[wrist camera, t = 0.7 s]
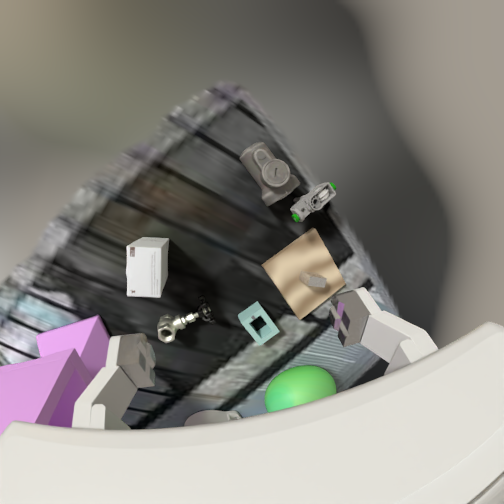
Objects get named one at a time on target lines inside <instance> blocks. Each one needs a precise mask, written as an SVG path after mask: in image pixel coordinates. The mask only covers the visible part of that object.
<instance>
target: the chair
mask: <svg viewBox="0 0 504 504" xmlns="http://www.w3.org/2000/svg"><path fill="white" fill-rule="evenodd" d="M36 339H37V344H38V348H39V352H40V356H41V358H38V359H35V360H31V361H27V362H23V363H16V364H9V365H5V366H1V367H0V435H1V434H2V433H3V431H4V430H5V429H6V427H7V426H8V425H9V424H10V423H11V422H12V421H15V420H17V421H24V422H29V423H36V424H42V425H50V426H59V427H69V428H72V421H73V413H74V405H75V402H76V401H77V400H78V398H79V397H80V396H81V394H82V393H83V392H84V390H85V389H86V388H87V387H88V385H89V384H90V383H91V381H92V380H93V379H94V378H95V376H96V375H97V374H98V373H99V371H100V370H101V369H102V368H103V367H106V360H107V353H108V347H109V341H110V336H109V334H108V332H107V330H106V328H105V325H104V323H103V321H102V319H101V317H100V315H96V316H93V317H90V318H87V319H84V320H81V321H78V322H75V323H71V324H68V325H65V326H62V327H59V328H56V329H53V330H49V331H46V332H43V333H40V334H38V335H37V336H36Z"/></svg>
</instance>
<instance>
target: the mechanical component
mask: <svg viewBox="0 0 504 504" xmlns="http://www.w3.org/2000/svg"><path fill="white" fill-rule="evenodd" d="M335 189H336V187H335V185H334V184H333V183H322V184H320V185H318V186H316V187H315V188H314V189H313V190H311V191H310V192H309V193H308V194H307V195H303V196H301V198H294V200H293V202H295V205H294V206H292V207H291V209H290V210H291V212H292V213H293V215H292V218H293V219H294V220H295V221H296V222H298V221H300V222H302V221H303V220H304V218H305V217H306V216H307V215H309V214H310V213H311V212H314V211H315V210H319V209H321V208H322V207H323V205H324V204H326V203H327V202H328V201H329V200H330V199H331V198H332V197H334V196H335V195H336V192H335V191H334V190H335ZM328 197H329V198H328ZM327 198H328V199H327ZM325 199H327V200H325ZM324 200H325V201H324ZM321 201H323V202H321Z"/></svg>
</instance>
